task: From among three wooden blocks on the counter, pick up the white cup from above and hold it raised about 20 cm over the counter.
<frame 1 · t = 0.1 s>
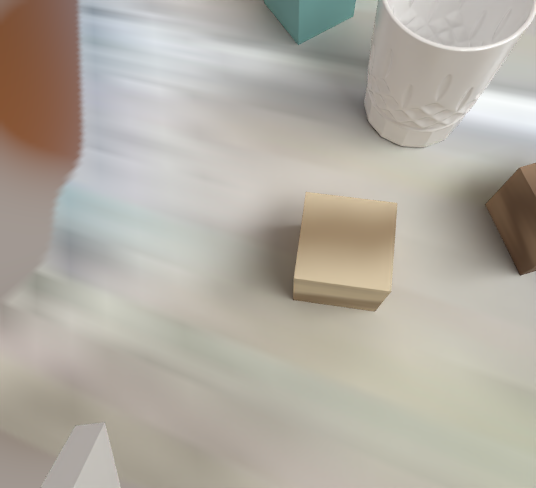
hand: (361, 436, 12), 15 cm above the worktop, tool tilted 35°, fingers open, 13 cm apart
maple block: (337, 267, 30), on the worktop
teal painted block: (308, 10, 37), on the worktop
white cup: (411, 109, 34), on the worktop
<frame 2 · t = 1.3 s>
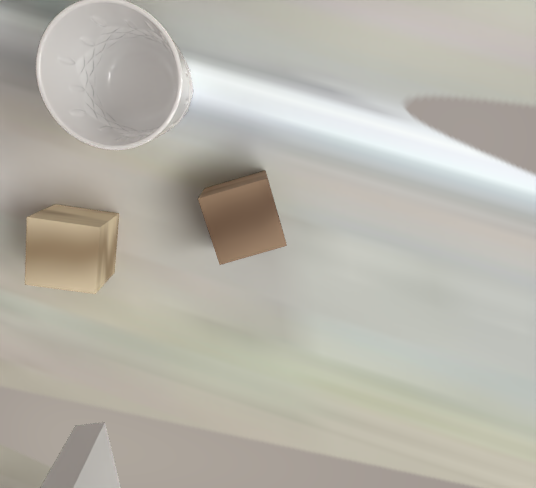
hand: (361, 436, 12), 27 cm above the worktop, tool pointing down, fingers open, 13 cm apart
maple block: (85, 238, 38), on the worktop
white cup: (148, 87, 36), on the worktop
walnut block: (244, 209, 38), on the worktop
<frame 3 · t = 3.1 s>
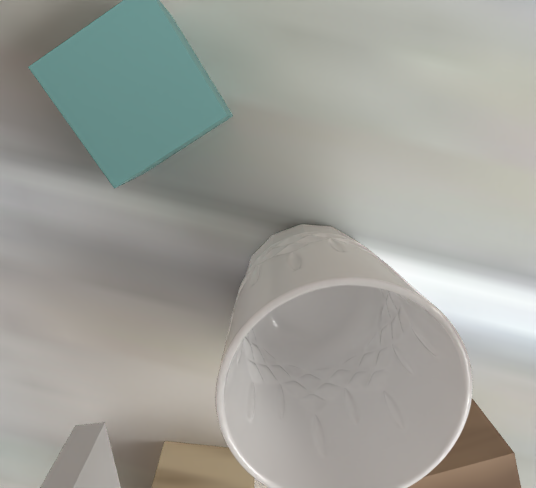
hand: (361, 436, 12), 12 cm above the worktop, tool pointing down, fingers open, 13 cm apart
maple block: (204, 482, 27), on the worktop
teal painted block: (157, 97, 22), on the worktop
white cup: (308, 286, 24), on the worktop
walnut block: (431, 440, 27), on the worktop
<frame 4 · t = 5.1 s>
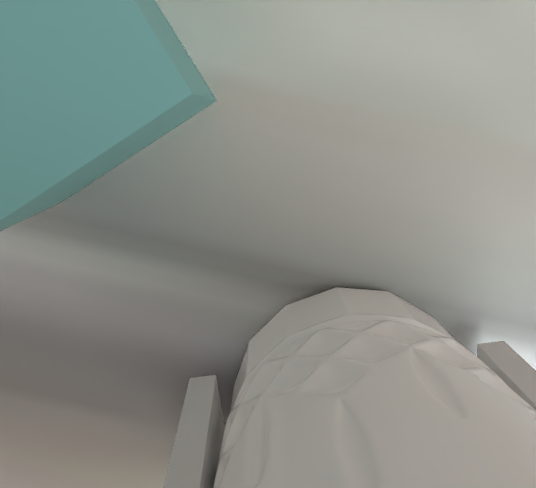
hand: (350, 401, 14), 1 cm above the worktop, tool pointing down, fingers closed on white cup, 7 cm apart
teal painted block: (78, 66, 12), on the worktop
white cup: (344, 384, 15), on the worktop, touching gripper
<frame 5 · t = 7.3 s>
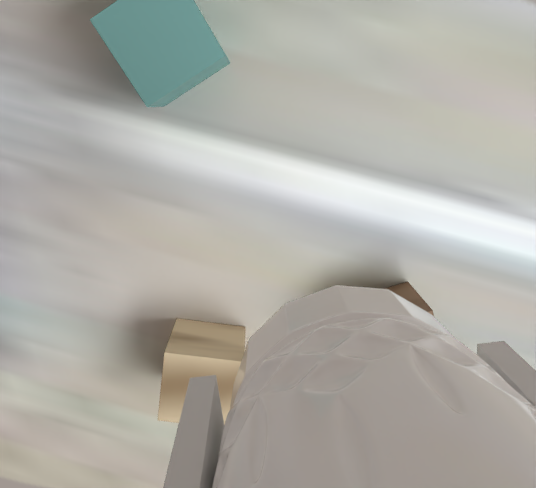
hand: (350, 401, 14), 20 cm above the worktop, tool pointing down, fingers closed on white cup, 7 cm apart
maple block: (207, 352, 35), on the worktop
teal painted block: (174, 48, 29), on the worktop
white cup: (343, 382, 15), point 19 cm above the worktop, touching gripper
walnut block: (381, 321, 35), on the worktop
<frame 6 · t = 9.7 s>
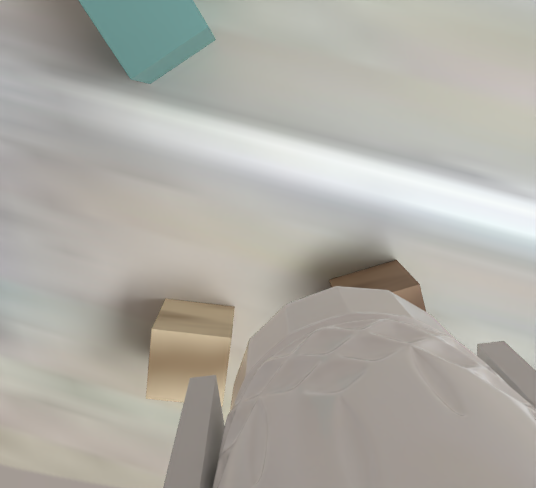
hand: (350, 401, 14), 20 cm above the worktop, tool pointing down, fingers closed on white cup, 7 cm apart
maple block: (197, 333, 35), on the worktop
teal painted block: (159, 25, 29), on the worktop
white cup: (344, 383, 15), point 19 cm above the worktop, touching gripper
walnut block: (370, 300, 35), on the worktop
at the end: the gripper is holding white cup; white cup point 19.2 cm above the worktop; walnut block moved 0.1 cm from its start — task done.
